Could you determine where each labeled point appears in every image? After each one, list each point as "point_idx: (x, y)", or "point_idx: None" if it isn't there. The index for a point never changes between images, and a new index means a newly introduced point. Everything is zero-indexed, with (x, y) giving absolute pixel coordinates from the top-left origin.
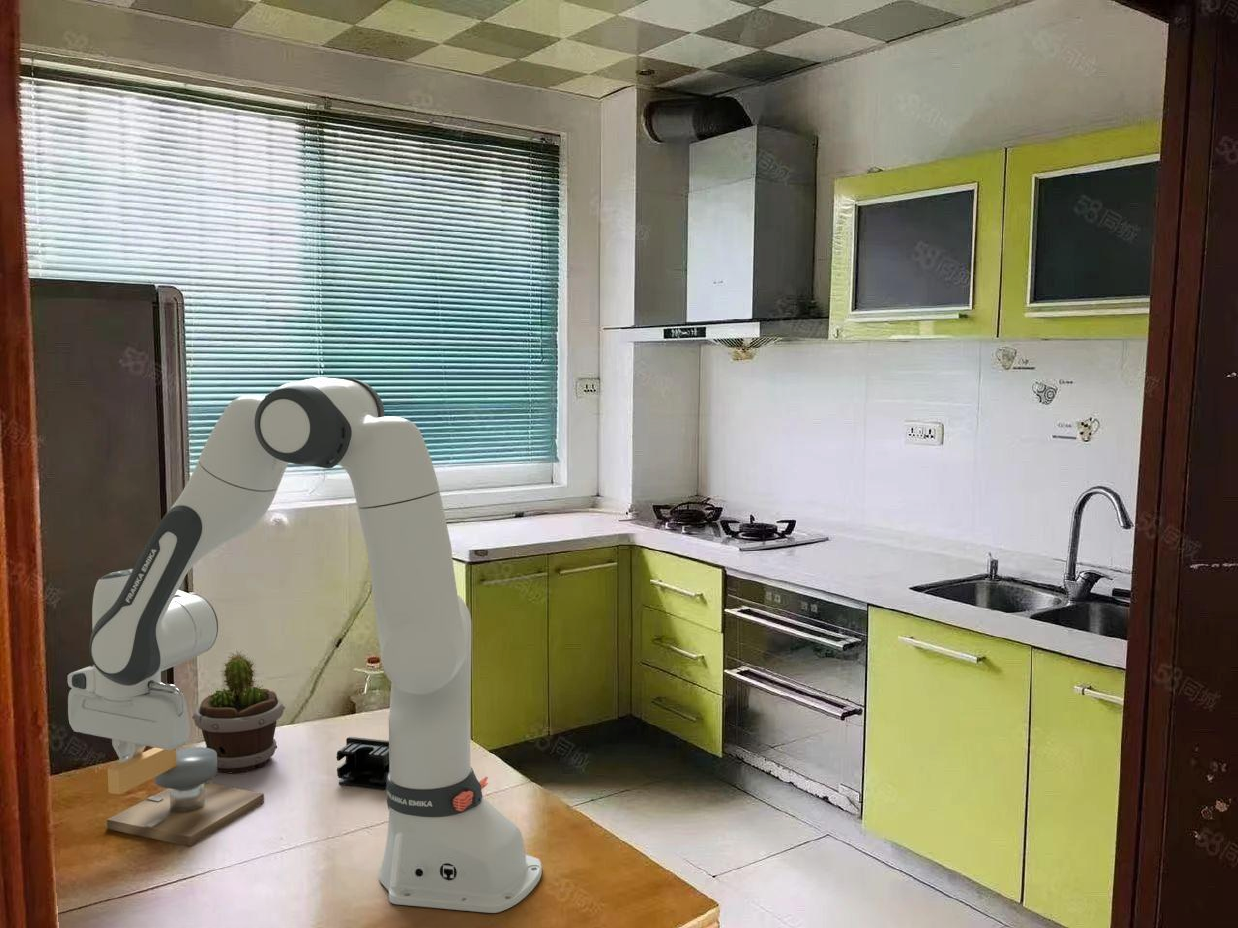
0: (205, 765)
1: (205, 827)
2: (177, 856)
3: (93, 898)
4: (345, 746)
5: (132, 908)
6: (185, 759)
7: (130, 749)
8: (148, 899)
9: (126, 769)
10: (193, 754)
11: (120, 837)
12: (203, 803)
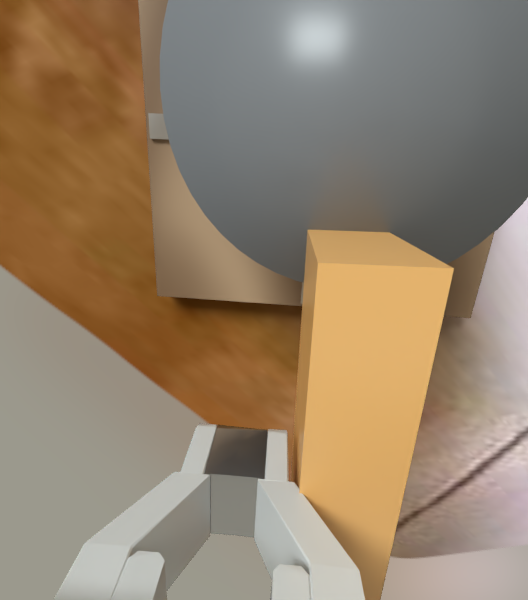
0: None
1: (487, 256)
2: (452, 356)
3: None
4: None
5: (483, 526)
6: (378, 117)
7: (191, 496)
8: (496, 501)
9: None
10: (378, 3)
11: (238, 314)
12: None
